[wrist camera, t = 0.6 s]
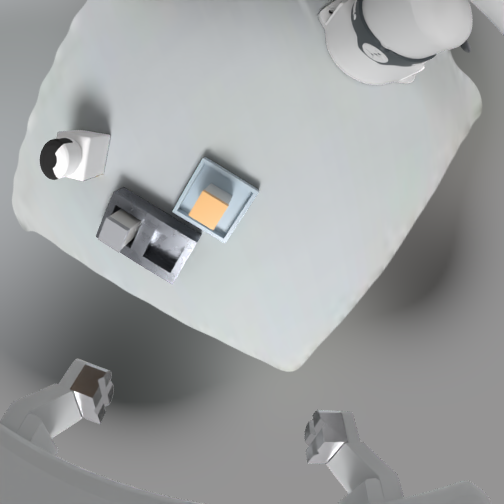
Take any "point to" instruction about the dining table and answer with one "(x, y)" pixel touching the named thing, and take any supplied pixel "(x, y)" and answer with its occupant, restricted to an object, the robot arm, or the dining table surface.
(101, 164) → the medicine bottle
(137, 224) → the grey rectangular block
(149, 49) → the dining table surface
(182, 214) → the tray
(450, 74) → the dining table surface
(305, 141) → the dining table surface
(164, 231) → the square-holed metal block
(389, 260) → the dining table surface
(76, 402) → the robot arm
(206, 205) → the plug
